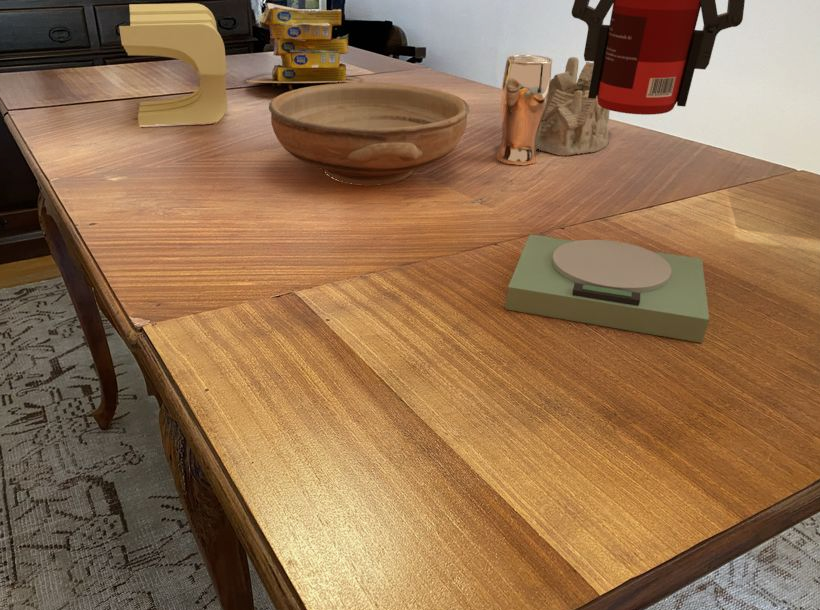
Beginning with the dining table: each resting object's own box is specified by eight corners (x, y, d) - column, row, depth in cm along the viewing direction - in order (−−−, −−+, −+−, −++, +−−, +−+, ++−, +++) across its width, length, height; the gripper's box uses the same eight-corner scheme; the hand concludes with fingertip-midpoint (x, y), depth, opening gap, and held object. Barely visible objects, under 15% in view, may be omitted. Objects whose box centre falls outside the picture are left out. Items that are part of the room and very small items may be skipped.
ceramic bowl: (266, 140, 120) (262, 78, 114) (429, 134, 123) (433, 74, 118) (280, 221, 89) (276, 141, 83) (498, 210, 92) (508, 133, 87)
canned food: (684, 104, 72) (714, -16, 67) (662, 119, 67) (693, -10, 61) (610, 94, 76) (632, -21, 70) (584, 108, 71) (605, -16, 65)
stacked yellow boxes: (254, 77, 165) (248, -2, 156) (360, 78, 165) (360, -2, 156) (240, 101, 144) (233, 11, 135) (361, 102, 144) (362, 12, 135)
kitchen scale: (695, 279, 75) (703, 252, 74) (702, 343, 64) (711, 312, 63) (526, 254, 81) (530, 228, 79) (504, 309, 69) (508, 280, 68)
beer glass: (484, 159, 112) (495, 58, 104) (512, 150, 115) (524, 52, 108) (520, 169, 107) (534, 64, 99) (547, 160, 111) (563, 59, 103)
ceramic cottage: (554, 122, 130) (566, 35, 122) (627, 146, 119) (646, 53, 110) (491, 140, 123) (500, 49, 115) (563, 168, 112) (578, 70, 104)
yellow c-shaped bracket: (232, 136, 122) (222, 23, 112) (137, 141, 119) (118, 26, 110) (222, 97, 147) (214, 2, 137) (143, 101, 144) (129, 4, 134)
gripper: (564, -184, 59) (527, 97, 71) (845, -193, 53) (751, 118, 65) (575, -175, 65) (539, 83, 77) (828, -182, 59) (745, 101, 71)
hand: (636, 99), depth 71 cm, fingers closed on canned food, 8 cm apart
